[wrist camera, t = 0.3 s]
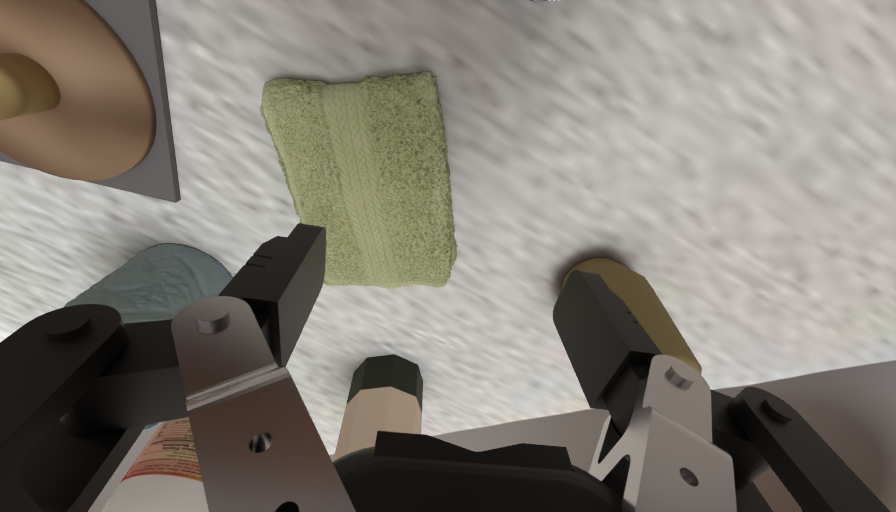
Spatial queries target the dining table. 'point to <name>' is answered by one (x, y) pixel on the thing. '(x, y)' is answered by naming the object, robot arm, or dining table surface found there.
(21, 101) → the lid
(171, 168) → the mat
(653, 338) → the squeeze bottle
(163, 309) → the grey-blue cup
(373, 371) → the wine bottle
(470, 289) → the dining table surface
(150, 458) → the fruit juice
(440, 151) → the washcloth
